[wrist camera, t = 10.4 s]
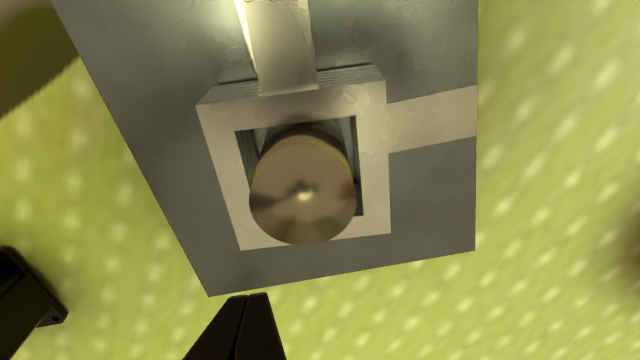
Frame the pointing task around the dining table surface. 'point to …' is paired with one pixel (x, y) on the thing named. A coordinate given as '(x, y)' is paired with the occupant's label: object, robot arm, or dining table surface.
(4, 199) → the dining table surface
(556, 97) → the dining table surface
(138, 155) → the post base
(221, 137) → the square nut with handle
